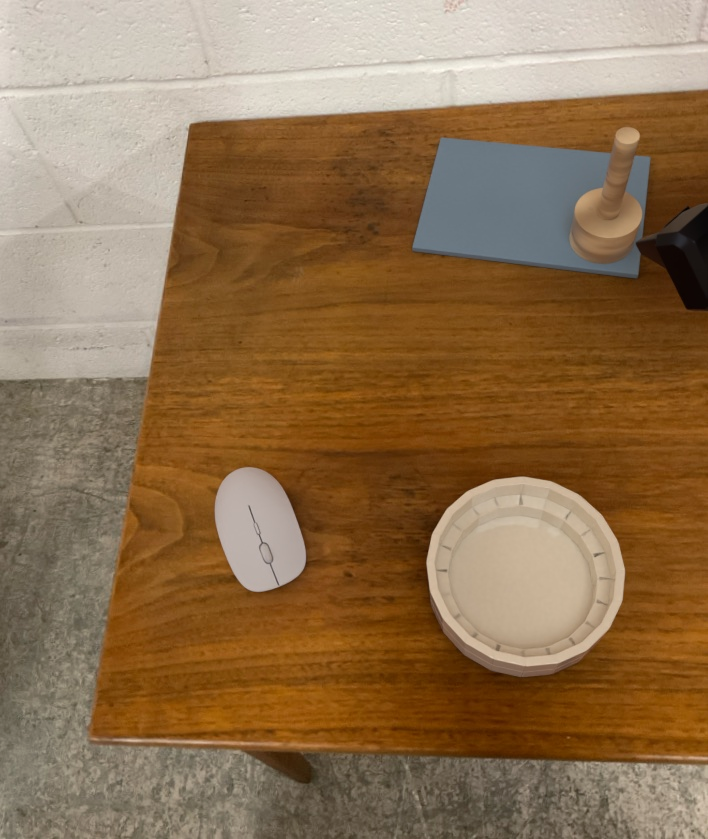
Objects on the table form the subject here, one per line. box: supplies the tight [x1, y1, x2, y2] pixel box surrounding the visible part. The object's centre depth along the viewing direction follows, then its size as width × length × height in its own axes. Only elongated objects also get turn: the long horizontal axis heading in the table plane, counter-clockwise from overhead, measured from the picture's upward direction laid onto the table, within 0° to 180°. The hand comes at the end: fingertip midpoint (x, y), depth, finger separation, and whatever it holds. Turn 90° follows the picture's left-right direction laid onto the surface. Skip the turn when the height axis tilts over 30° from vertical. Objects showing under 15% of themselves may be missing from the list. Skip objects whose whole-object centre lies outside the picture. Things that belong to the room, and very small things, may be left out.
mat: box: [411, 136, 652, 279], centre depth 75 cm, size 20×14×1 cm
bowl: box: [425, 476, 626, 678], centre depth 57 cm, size 13×13×4 cm
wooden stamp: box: [569, 126, 642, 264], centre depth 66 cm, size 6×6×12 cm
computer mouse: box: [214, 466, 307, 593], centre depth 61 cm, size 6×10×3 cm, turn 21°
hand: (678, 213), depth 62 cm, fingers open, 9 cm apart
